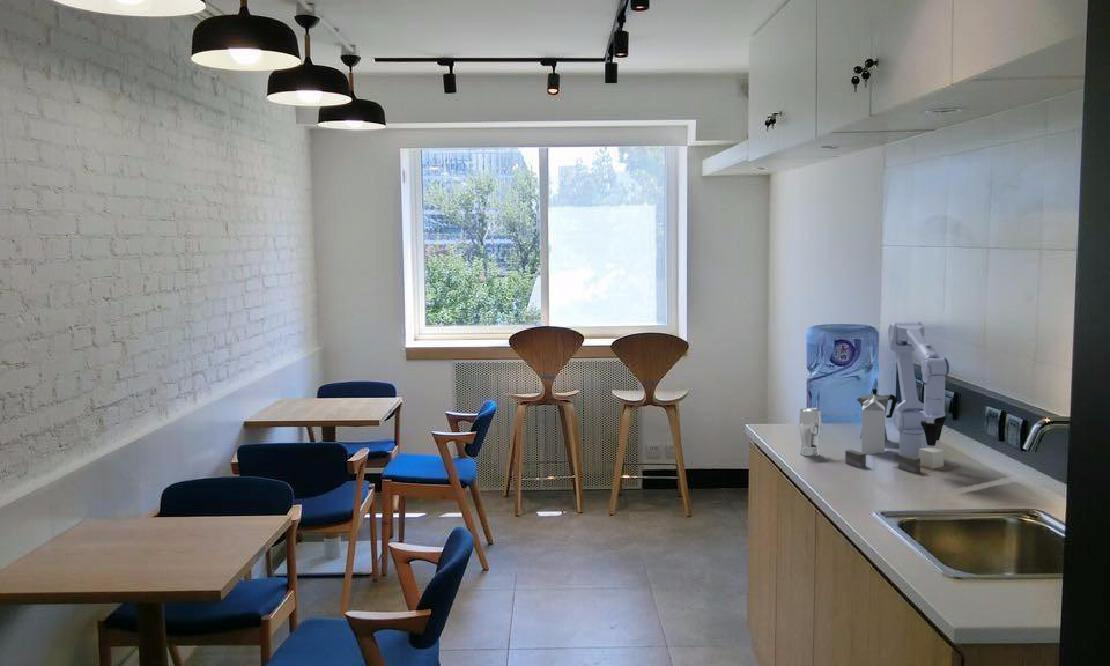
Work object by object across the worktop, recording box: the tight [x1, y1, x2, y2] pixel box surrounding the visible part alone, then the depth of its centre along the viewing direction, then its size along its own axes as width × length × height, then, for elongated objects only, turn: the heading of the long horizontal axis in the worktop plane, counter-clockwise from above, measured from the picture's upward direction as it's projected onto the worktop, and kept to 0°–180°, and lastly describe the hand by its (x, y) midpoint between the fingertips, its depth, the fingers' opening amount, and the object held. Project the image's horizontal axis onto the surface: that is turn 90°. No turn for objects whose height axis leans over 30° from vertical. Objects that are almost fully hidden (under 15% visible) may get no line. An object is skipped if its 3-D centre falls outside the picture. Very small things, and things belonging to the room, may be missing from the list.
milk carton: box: [860, 395, 886, 456], centre depth 294 cm, size 7×7×19 cm
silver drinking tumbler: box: [798, 407, 822, 458], centre depth 295 cm, size 7×7×15 cm
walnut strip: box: [892, 454, 960, 476], centre depth 272 cm, size 18×10×5 cm, turn 118°
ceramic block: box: [919, 446, 945, 469], centre depth 273 cm, size 5×5×5 cm
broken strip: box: [844, 449, 867, 468], centre depth 279 cm, size 18×9×5 cm, turn 118°
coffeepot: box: [856, 388, 898, 442], centre depth 314 cm, size 15×9×18 cm, turn 103°
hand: (933, 442), depth 268 cm, fingers open, 7 cm apart
